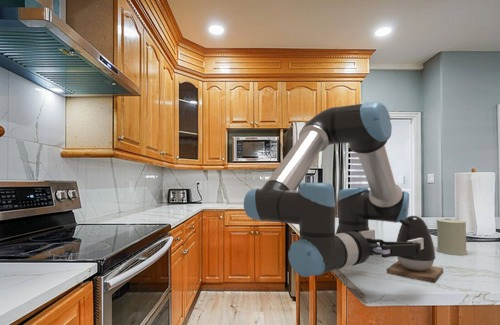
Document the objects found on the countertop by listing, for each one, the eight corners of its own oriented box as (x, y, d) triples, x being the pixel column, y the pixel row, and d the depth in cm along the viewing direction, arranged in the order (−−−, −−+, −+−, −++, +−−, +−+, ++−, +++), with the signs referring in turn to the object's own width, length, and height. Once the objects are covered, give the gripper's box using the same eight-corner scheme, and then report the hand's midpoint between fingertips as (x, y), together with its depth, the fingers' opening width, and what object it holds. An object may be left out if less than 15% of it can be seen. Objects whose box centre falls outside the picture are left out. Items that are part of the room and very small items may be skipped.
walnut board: (386, 272, 86) (386, 268, 87) (399, 263, 95) (399, 260, 96) (434, 282, 79) (434, 278, 79) (443, 272, 87) (443, 267, 88)
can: (457, 249, 115) (456, 217, 116) (472, 255, 106) (471, 221, 107) (432, 248, 116) (431, 217, 117) (445, 254, 107) (444, 221, 108)
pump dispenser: (387, 265, 90) (386, 214, 91) (412, 261, 94) (411, 213, 94) (417, 275, 80) (416, 219, 81) (444, 271, 84) (442, 217, 85)
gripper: (307, 253, 80) (357, 243, 92) (398, 281, 60) (446, 263, 72) (307, 225, 80) (357, 219, 92) (397, 243, 60) (446, 231, 72)
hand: (396, 238), depth 82 cm, fingers open, 13 cm apart
